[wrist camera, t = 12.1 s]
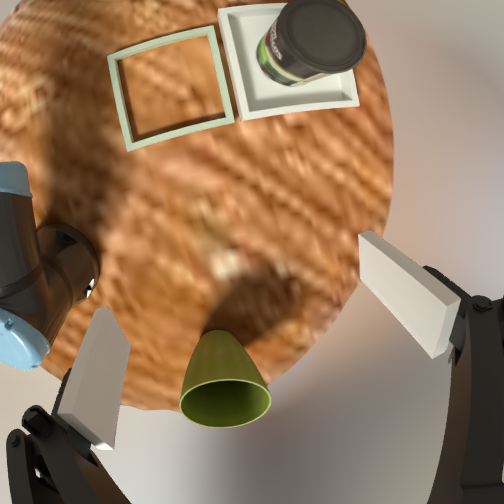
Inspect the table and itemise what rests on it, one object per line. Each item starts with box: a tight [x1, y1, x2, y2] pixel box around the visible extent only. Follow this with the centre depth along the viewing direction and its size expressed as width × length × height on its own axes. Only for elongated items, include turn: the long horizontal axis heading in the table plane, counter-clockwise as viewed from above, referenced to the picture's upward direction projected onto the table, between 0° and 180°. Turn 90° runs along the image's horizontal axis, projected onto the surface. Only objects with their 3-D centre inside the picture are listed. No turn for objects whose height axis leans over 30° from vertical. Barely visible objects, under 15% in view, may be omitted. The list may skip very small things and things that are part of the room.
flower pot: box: [179, 330, 272, 428], centre depth 47 cm, size 15×15×16 cm
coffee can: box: [255, 0, 367, 87], centre depth 28 cm, size 10×10×14 cm
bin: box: [217, 3, 359, 121], centre depth 33 cm, size 18×18×4 cm
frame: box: [107, 26, 235, 152], centre depth 34 cm, size 16×16×2 cm
